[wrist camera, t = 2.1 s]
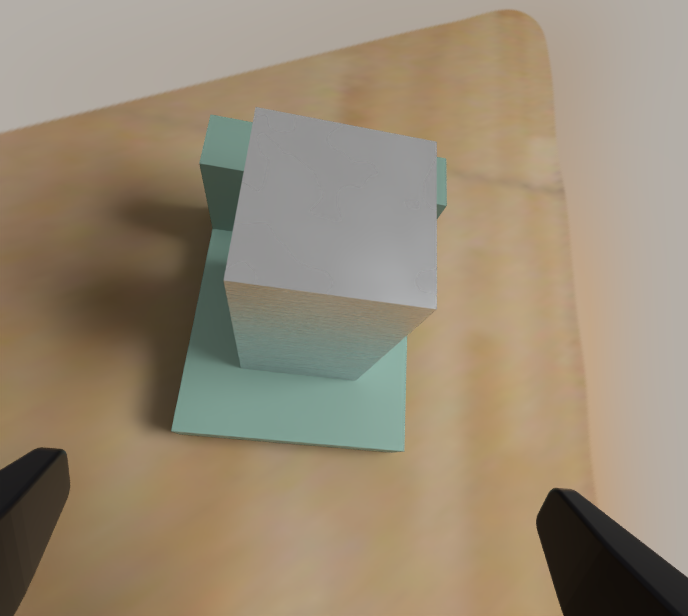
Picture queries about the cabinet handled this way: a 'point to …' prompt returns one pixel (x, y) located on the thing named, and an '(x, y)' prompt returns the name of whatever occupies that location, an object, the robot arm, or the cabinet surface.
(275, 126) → the gray upright column
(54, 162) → the cabinet surface
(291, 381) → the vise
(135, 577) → the cabinet surface
